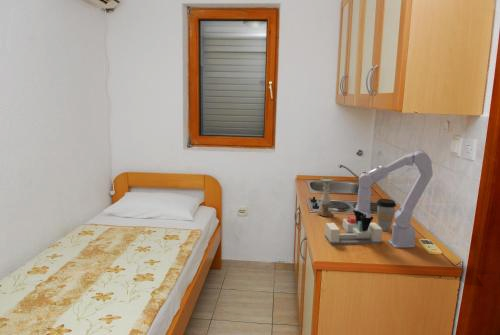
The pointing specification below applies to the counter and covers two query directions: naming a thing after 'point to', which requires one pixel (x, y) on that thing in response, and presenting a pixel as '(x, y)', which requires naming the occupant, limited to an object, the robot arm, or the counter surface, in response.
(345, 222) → the box
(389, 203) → the coffee cup
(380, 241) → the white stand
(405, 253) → the counter surface
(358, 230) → the carriage
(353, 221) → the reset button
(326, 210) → the candle holder
